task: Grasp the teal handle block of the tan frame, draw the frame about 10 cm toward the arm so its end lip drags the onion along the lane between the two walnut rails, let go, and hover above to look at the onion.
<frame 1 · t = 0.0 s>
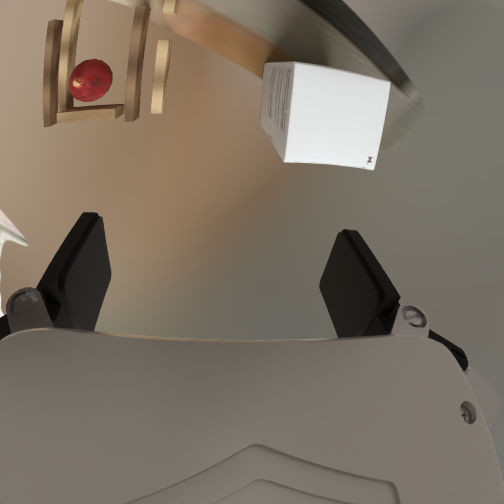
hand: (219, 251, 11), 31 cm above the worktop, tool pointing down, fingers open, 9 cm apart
onion: (101, 78, 30), on the worktop
lane rails: (95, 65, 29), on the worktop
broken strip: (167, 34, 28), on the worktop
tan frame: (87, 39, 24), point 4 cm above the worktop, slide at 0.0 cm
supplement box: (294, 95, 36), on the worktop
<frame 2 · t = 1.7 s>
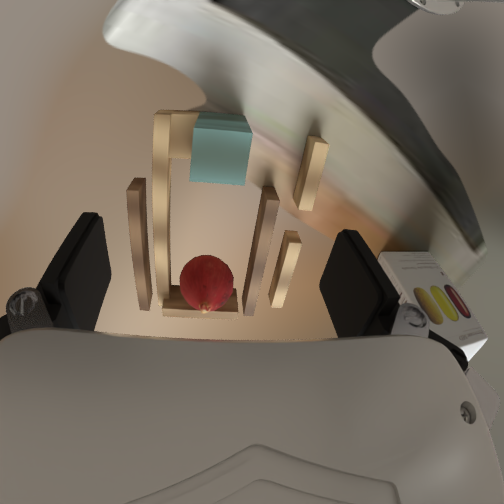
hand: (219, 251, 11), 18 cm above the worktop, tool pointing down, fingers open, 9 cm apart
onion: (207, 259, 34), on the worktop
lane rails: (199, 246, 33), on the worktop
broken strip: (293, 223, 32), on the worktop
tan frame: (200, 237, 27), point 4 cm above the worktop, slide at 0.0 cm
supplement box: (394, 274, 39), on the worktop
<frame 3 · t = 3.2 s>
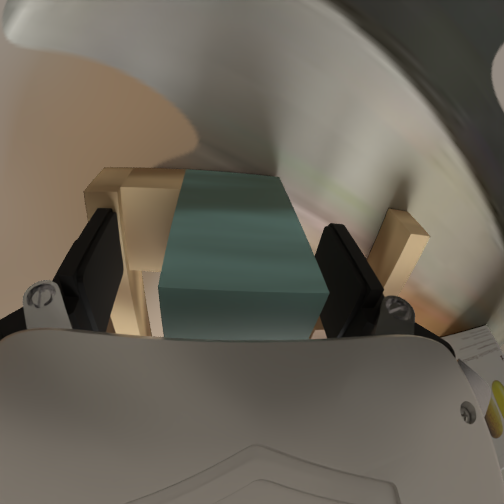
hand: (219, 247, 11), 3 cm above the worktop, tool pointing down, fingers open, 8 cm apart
lane rails: (199, 361, 21), on the worktop
broken strip: (340, 329, 20), on the worktop
tan frame: (201, 381, 16), point 4 cm above the worktop, slide at -0.1 cm, touching gripper
supplement box: (445, 352, 27), on the worktop
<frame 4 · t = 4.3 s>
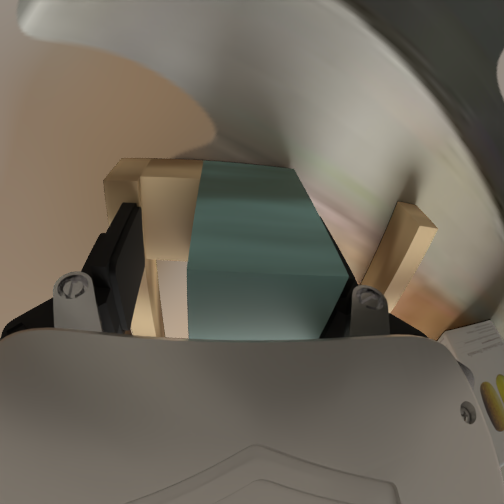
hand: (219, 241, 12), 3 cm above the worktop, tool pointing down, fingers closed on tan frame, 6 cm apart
broken strip: (349, 321, 20), on the worktop
tan frame: (214, 371, 16), point 4 cm above the worktop, slide at -0.1 cm, touching gripper
supplement box: (450, 346, 28), on the worktop
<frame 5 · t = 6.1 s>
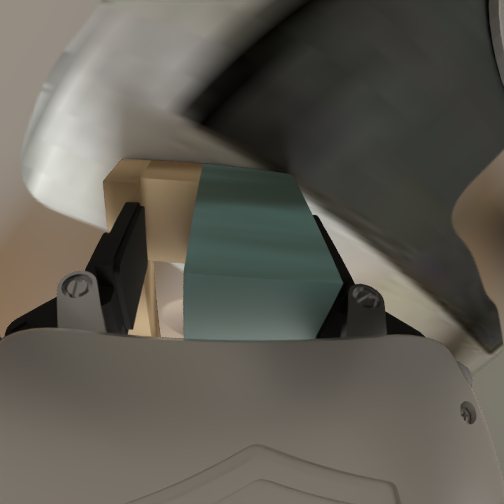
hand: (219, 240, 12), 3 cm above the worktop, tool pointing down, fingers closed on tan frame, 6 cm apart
tan frame: (208, 372, 16), point 4 cm above the worktop, slide at 9.1 cm, touching gripper, onion
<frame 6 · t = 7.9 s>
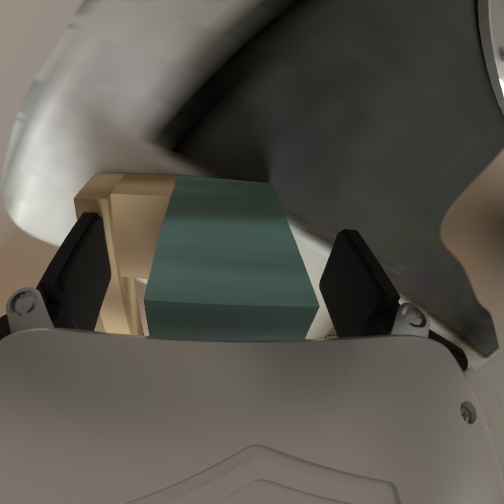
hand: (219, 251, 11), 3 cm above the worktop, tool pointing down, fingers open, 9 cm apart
tan frame: (194, 388, 15), point 4 cm above the worktop, slide at 9.8 cm, touching gripper, onion
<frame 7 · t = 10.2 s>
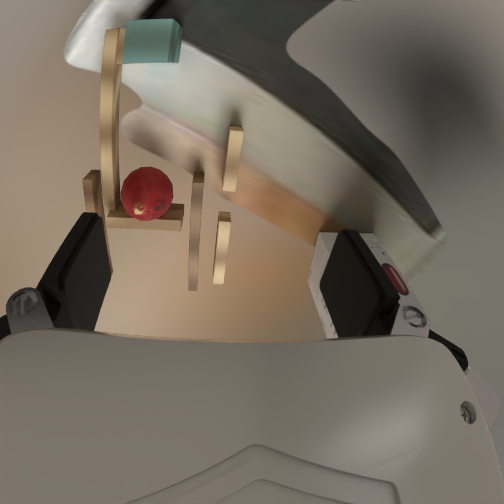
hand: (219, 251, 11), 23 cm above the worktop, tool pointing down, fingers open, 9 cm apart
onion: (153, 180, 33), on the worktop, touching tan frame
lane rails: (146, 227, 36), on the worktop
broken strip: (225, 204, 36), on the worktop
tan frame: (139, 131, 26), point 4 cm above the worktop, slide at 9.8 cm, touching onion
supplement box: (339, 256, 43), on the worktop
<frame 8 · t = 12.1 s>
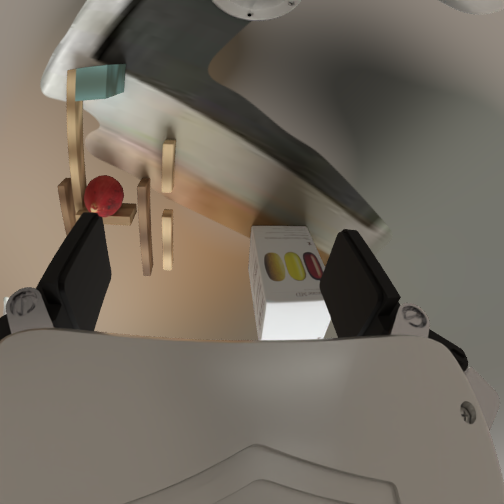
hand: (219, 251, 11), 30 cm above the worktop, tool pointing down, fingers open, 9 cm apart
onion: (111, 185, 39), on the worktop, touching tan frame
lane rails: (109, 223, 43), on the worktop
broken strip: (168, 203, 42), on the worktop
tan frame: (94, 149, 32), point 4 cm above the worktop, slide at 9.8 cm, touching onion
supplement box: (276, 247, 50), on the worktop
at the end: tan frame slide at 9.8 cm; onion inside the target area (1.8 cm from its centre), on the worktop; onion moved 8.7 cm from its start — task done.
